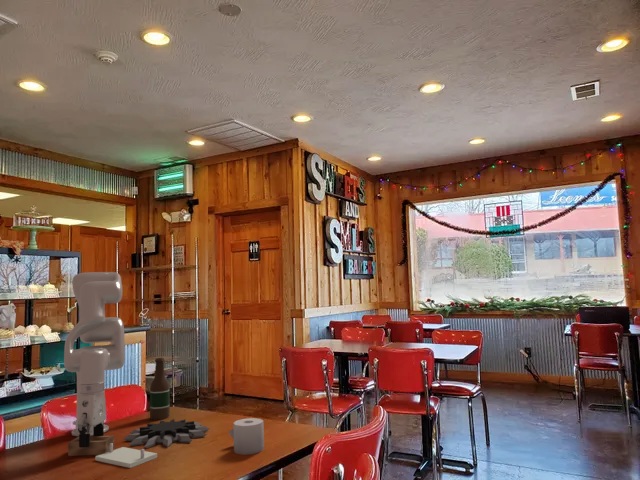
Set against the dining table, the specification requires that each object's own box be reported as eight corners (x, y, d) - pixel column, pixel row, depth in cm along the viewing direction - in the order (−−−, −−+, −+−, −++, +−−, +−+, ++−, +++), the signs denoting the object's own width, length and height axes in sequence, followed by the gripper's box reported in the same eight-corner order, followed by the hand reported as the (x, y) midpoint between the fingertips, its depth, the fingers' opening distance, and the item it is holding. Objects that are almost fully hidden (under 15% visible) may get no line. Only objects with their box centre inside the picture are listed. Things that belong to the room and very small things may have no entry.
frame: (68, 455, 158) (68, 442, 158) (78, 449, 165) (78, 436, 165) (105, 454, 158) (105, 441, 158) (114, 447, 165) (114, 435, 165)
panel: (95, 460, 153) (95, 447, 153) (122, 450, 161) (123, 439, 162) (130, 468, 145) (130, 454, 145) (157, 457, 153) (157, 445, 154)
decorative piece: (151, 414, 194) (223, 415, 188) (151, 424, 194) (224, 426, 188) (103, 437, 165) (187, 439, 159) (103, 449, 164) (187, 452, 158)
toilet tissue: (235, 442, 165) (235, 416, 166) (269, 447, 159) (268, 419, 160) (218, 451, 157) (218, 423, 158) (253, 455, 151) (252, 426, 152)
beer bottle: (173, 415, 206) (173, 356, 208) (161, 420, 199) (161, 359, 201) (158, 414, 208) (157, 356, 211) (145, 419, 201) (145, 359, 204)
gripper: (91, 392, 155) (90, 450, 152) (114, 383, 172) (114, 435, 170) (67, 393, 155) (66, 451, 152) (92, 384, 172) (92, 436, 170)
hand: (91, 442), depth 161 cm, fingers open, 9 cm apart
